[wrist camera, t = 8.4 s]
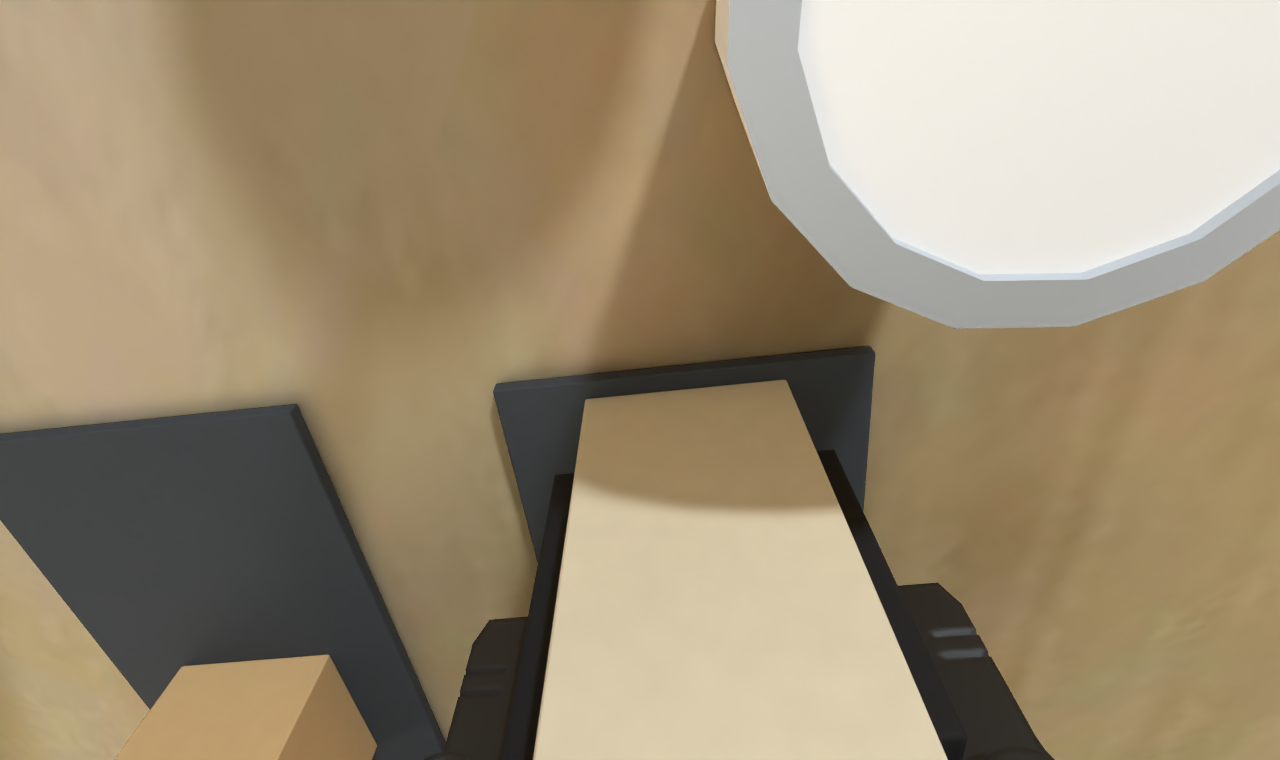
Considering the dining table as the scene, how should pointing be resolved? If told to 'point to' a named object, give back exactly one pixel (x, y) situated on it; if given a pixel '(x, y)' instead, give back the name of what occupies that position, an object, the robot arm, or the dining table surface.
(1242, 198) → the white cup
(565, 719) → the cream block
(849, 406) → the right word board
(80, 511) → the left word board
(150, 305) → the dining table surface
